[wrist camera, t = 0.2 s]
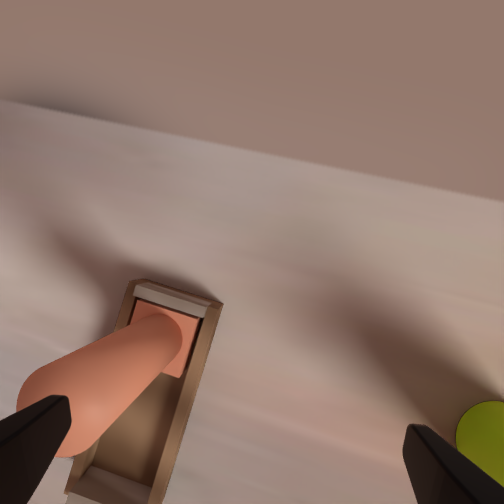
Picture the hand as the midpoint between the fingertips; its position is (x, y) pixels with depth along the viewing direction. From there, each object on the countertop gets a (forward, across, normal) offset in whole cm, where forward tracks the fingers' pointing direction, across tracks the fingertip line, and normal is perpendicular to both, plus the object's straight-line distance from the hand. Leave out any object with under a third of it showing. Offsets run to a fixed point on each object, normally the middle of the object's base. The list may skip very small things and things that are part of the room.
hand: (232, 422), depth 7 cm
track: (+13, +8, +11) cm, 19 cm away
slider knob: (+14, +7, +6) cm, 16 cm away
